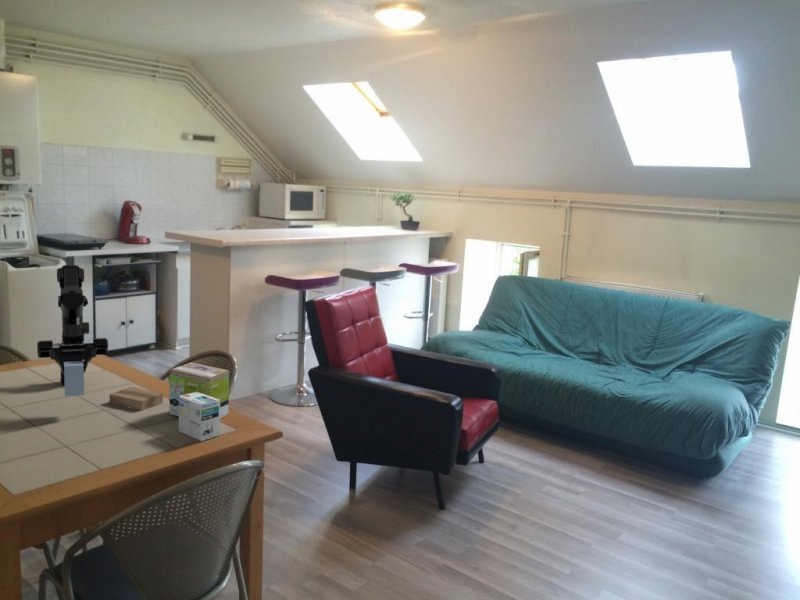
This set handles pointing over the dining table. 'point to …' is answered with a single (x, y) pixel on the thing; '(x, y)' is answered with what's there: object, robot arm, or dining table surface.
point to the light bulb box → (199, 416)
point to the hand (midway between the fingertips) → (74, 372)
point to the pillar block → (74, 378)
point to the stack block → (136, 398)
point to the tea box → (199, 385)
